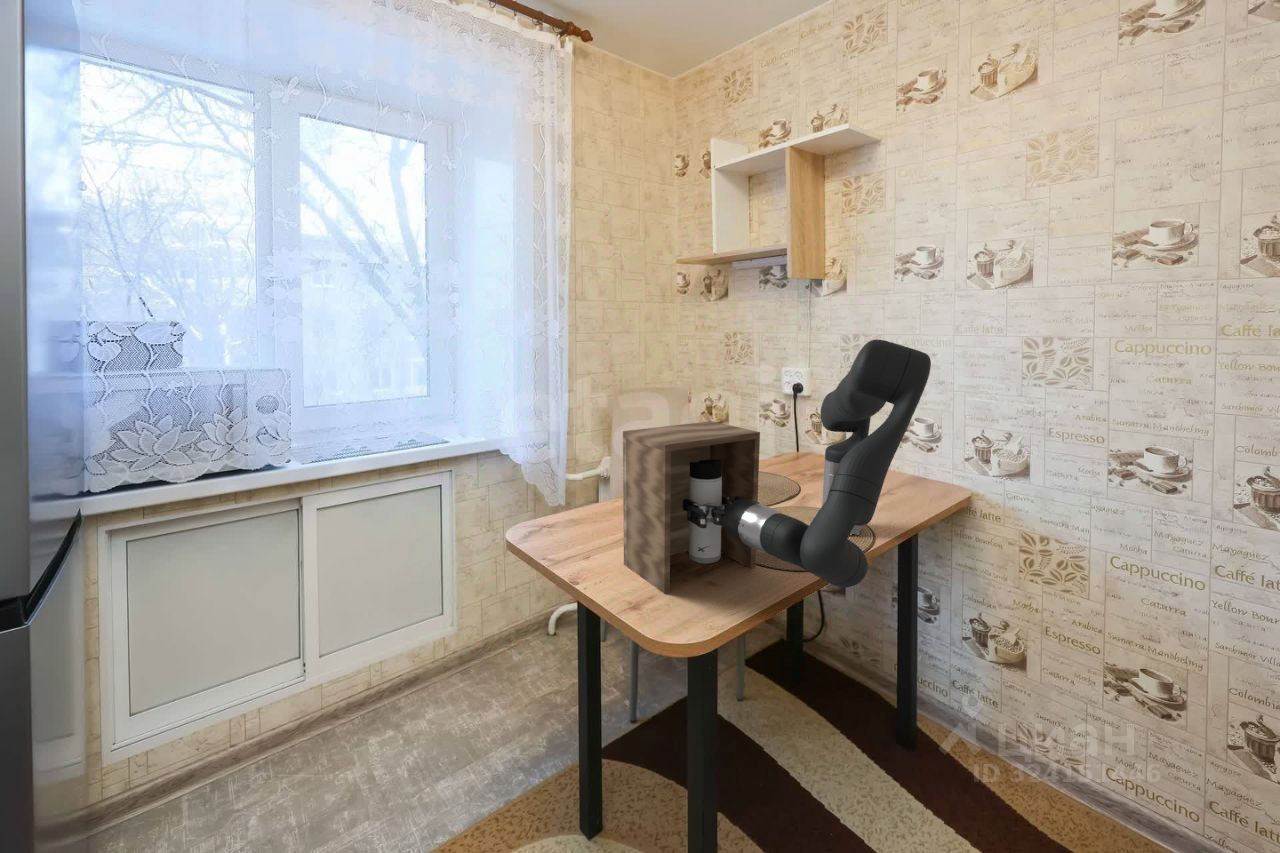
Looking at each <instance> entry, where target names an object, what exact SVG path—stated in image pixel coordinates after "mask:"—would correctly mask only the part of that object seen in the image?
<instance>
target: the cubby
mask: <svg viewBox="0 0 1280 853" xmlns="http://www.w3.org/2000/svg"><path fill="white" fill-rule="evenodd" d="M760 440H761V432H760V431H756V430H752V429H747V428H743V427H739V426H734V425H730V424H726V423H721V422H718V421H712V420H711V421H710V420H709V421H702V422H692V423H691V422H690V423H684V424H683V423H682V424H675V425H673V424H672V425H667V426H666V425H665V426H656V427H649V428H640V429H631V430H623V431H622V471H623V472H622V481H623V482H622V488H623V489H622V490H623V491H622V492H623V493H622V495H623V496H622V498H623V502H622V503H623V505H622V506H623V508H622V509H623V512H622V513H623V516H622V517H623V565H624V566H625V567H627V568H628V569H630V570H631V571H632V572H634V573H636V574H637V575H638V576H640V577H641V578H642V579H643V580H645V581H646V582H648V583H649V584H650V585H651V586H653V587H654V588H655V589H657V590H659V591H660V592H661V593H663V594H667V593H668V594H669V593H670V591H671V590H670V587H671V581H670V579H671V578H670V577H671V575H670V574H671V571H670V569H671V556H673V555H676V554H681V553H685V552H689V520H687V511H685V510H683V500H684V499H689V479H690V478H689V475H690V462H699V460H721V461H722V471H721V473H722V496H723V497H731V498H734V497H735V496H740V497H743V498H746V499H749V500H753V501H756V502H758V500H759V498H758V497H759V496H758V495H759V473H760V472H759V469H760V468H759V467H760V444H761V441H760ZM756 553H757V550H756V549H754V548H752V547H750V546H748V545H745V544H743V543H741V542H739V541H737V540H735V539H733V538H731V537H730V536H729V535H728V534H727V533H726V531H725V530H724V528H723V527H722V526H721V554H724V555H725V556H726V557H729V558H731V559H733V560H735V561H736V562H739V563H740V564H742V565H744V566H746V567H748V568H749V569H752V568H756Z"/></svg>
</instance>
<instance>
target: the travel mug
mask: <svg viewBox="0 0 1280 853" xmlns="http://www.w3.org/2000/svg"><path fill="white" fill-rule="evenodd" d="M721 471H722V461H721V460H699V462H690V475H689V478H690V479H689V500H691V501H693V502H696V503H698V504H706V503H713V504H721V503H722V473H721ZM699 510H701V511H702V512H703V509H701V508H699ZM711 510H712V508H710V513H709V516H711ZM721 555H722V553H721V526H718V525H715V524H713V523H707V528H700V527H698V526H697V525H695V524H694V523H692V522H690V521H689V551H688V557H689V559H690V560H691V561H693V562H696V563H699V564H712V563H717V562H718V561H719V560H720V559H721V558H722V556H721Z"/></svg>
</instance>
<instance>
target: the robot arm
mask: <svg viewBox="0 0 1280 853" xmlns="http://www.w3.org/2000/svg"><path fill="white" fill-rule="evenodd" d="M931 361H932V360H931V357H930V355H928V354H927V353H925V352H923V351H921V350H918V349H916V348H911V347H909V346H905V345H902V344H899V343H895V342H891V341H887V340H884V339H872V340H869V341H867V343H865V344H864V345H863V346H862V347H861V349H860V350H859V352H858V353H857V355H856V357H855V358H854V361H853V363H852V365H851V367H850V369H849V371H848V373H847V374H846V375H845V376H844V377H843V378H842V379H841V381H840V382H839V383H838V385H837V387H836V388H835V389H834V390H832V391H830V392H829V393H827V394H826V396H825V397H824V398H823V400H822V403H821V407H820V421H821V423H822V426H823V428H824V429H826V430H827V431H829V432H834V433H838V432H839V433H851V435H850V436H849V437H848V438H847V439H844V440H843V441H840V442H838V443H836V442H835V443H834V444H829V445H828V446H827V447H826V448H825V452H824V453H825V454H824V465H823V466H824V469H823V485H822V487H823V488H822V501H821V502H822V503H821V508H820V509H819V510H818V511H817V513H816V515H815V516H814V518H813V519H812V521H811V522H810V523H809V524H807V523H806V522H804V521H803V520H801V519H798V518H796V517H792V516H790V515H788V514H787V515H786V514H784V513H782V512H780V511H778V510H776V509H775V508H772V507H770V506H767V505H764V504H761V503H760V502H756V501H753V500H749V499H746V498H743V497H740V496H735V497H734V498H731V497H723V496H722V503H721V504H713V503H706V504H698V503H696V502H693V501H691V500H689V499H684V500H683V510H685V511H687V520H689V521H690V522H692V523H694V524H695V525H697V526H698V527H700V528H707V523H713V524H715V525H718V526H722V527H723V528H724V530H725V531H726V533H727V534H728V535H729V536H730V537H731V538H733V539H735V540H737V541H739V542H741V543H743V544H745V545H748V546H750V547H752V548H754V549H756V551H759V552H763V553H765V554H768V555H771V556H772V557H775V558H777V559H779V560H781V561H784V562H787V563H790V564H793V565H795V566H797V567H800V568H801V569H803V570H805V571H806V572H809V573H811V574H812V575H813V576H816V577H817V578H819V579H821V580H823V581H825V582H827V583H828V584H831V585H832V586H834V587H835V586H836V587H838V588H851V587H854V586H857V585H858V584H860V583H861V582H862V581H863V580H864V579H865V577H866V576H867V573H868V568H869V567H868V566H869V564H868V560H867V557H866V554H865V553H864V551H863V550H862V548H860V546H859V545H857V544H856V543H854V542H853V541H851V540H849V536H850V535H849V534H858V535H859V534H861V532H862V530H863V528H864V527H863V526H866V525H868V524H869V523H871V521H872V520H873V517H874V514H875V511H876V508H877V506H878V502H879V499H880V495H881V492H882V490H883V486H884V482H885V479H886V477H887V474H888V470H889V469H890V466H891V463H892V461H893V459H894V457H895V455H896V453H897V451H898V448H899V447H900V444H901V442H902V440H903V438H904V437H905V436H904V435H905V433H906V432H907V430H908V428H909V425H910V423H911V421H912V418H913V416H914V413H915V412H916V409H917V408H918V405H919V403H920V401H921V398H922V396H923V394H924V391H925V388H926V386H927V383H928V379H929V378H930V373H931V367H932V362H931ZM886 403H890V404H891V405H892V409H891V411H890V413H889V415H888V416H887V418H886V419H885V421H884V422H883V423H881V425H880V426H879V427H877V428H876V429H875V430H874V431H872V432H871V433H870V426H871V425H870V424H871V419H872V417H873V416H875V415H876V414H877V413H879V412H880V411H881V410H882V409H883V408H884V406H885V405H886ZM869 433H870V434H869ZM699 508H701V509H703V512H702V511H701V510H699ZM710 508H712V510H711V516H709V513H710ZM862 527H863V528H862ZM861 529H862V530H861ZM860 531H861V532H860ZM859 536H860V535H859Z"/></svg>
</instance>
